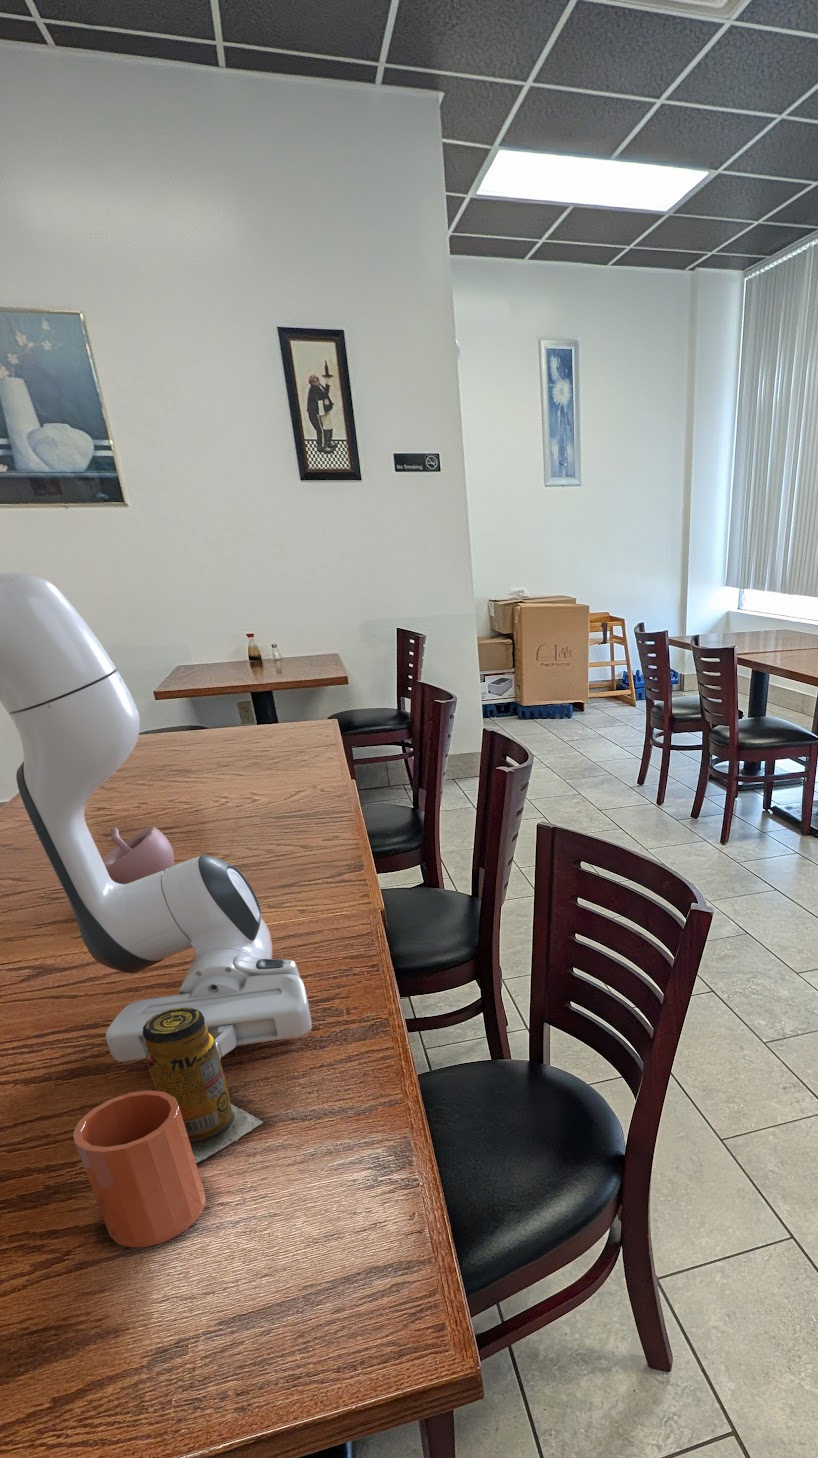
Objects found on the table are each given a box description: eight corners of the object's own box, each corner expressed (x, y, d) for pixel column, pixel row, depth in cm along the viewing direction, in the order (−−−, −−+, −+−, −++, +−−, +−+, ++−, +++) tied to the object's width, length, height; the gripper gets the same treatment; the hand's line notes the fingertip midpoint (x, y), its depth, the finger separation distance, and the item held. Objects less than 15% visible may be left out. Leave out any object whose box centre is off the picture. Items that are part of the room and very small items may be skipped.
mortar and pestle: (108, 885, 140) (88, 820, 135) (183, 874, 143) (167, 810, 138) (98, 911, 129) (76, 842, 124) (179, 899, 133) (162, 831, 128)
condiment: (213, 1094, 85) (186, 994, 80) (263, 1123, 80) (238, 1019, 75) (147, 1133, 80) (112, 1028, 74) (196, 1166, 75) (163, 1057, 70)
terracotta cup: (97, 1255, 66) (59, 1158, 61) (122, 1190, 73) (89, 1098, 68) (197, 1237, 67) (167, 1141, 63) (212, 1175, 74) (186, 1084, 70)
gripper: (118, 982, 90) (79, 1050, 78) (308, 958, 94) (300, 1019, 82) (133, 1030, 93) (98, 1104, 81) (318, 1005, 97) (311, 1072, 84)
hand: (201, 1061), depth 81 cm, fingers closed
